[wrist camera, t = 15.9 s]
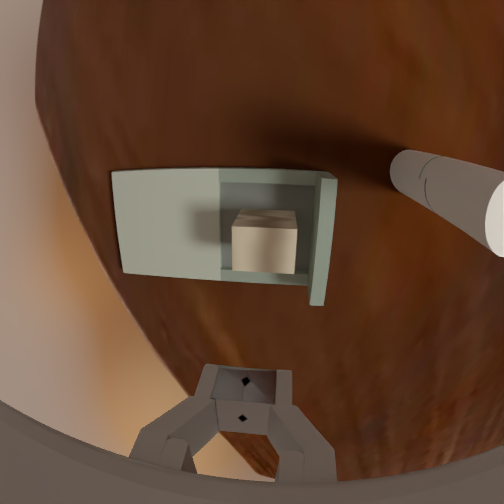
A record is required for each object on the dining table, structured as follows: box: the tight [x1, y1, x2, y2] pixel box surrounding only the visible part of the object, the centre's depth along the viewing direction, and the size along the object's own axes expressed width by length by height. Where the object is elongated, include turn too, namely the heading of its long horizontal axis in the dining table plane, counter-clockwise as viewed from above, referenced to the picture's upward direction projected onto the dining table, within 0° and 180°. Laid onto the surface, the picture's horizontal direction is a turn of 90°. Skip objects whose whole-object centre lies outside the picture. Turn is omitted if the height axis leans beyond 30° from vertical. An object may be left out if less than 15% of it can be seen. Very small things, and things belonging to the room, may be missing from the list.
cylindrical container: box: [390, 150, 504, 257], centre depth 29 cm, size 7×7×25 cm
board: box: [112, 167, 338, 306], centre depth 44 cm, size 34×18×8 cm, turn 90°
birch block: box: [232, 209, 297, 274], centre depth 42 cm, size 8×6×9 cm
